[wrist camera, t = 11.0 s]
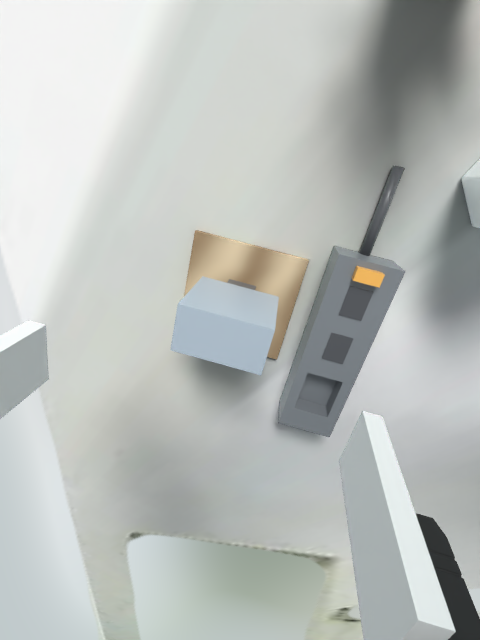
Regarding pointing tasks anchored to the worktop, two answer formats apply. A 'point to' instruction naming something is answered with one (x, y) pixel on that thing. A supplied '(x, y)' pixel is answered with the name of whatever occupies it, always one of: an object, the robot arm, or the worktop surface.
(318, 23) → the worktop surface
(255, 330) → the block
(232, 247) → the tan flat square block
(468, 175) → the jar
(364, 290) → the power strip
